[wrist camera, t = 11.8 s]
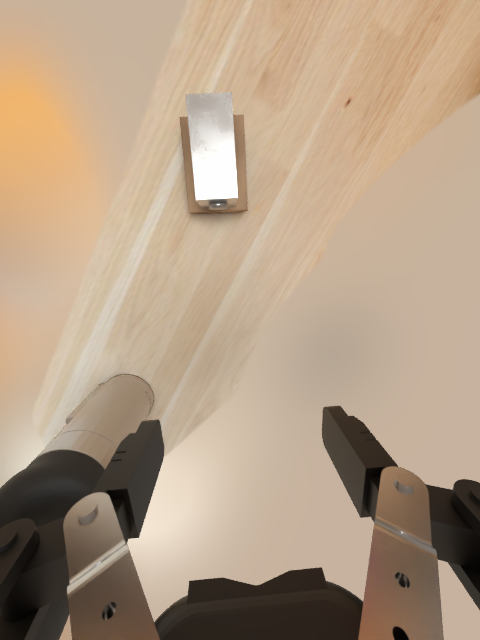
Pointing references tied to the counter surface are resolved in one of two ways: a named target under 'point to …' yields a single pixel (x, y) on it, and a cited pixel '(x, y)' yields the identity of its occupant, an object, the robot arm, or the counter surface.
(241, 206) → the stand
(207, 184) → the block
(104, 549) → the robot arm
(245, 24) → the counter surface
